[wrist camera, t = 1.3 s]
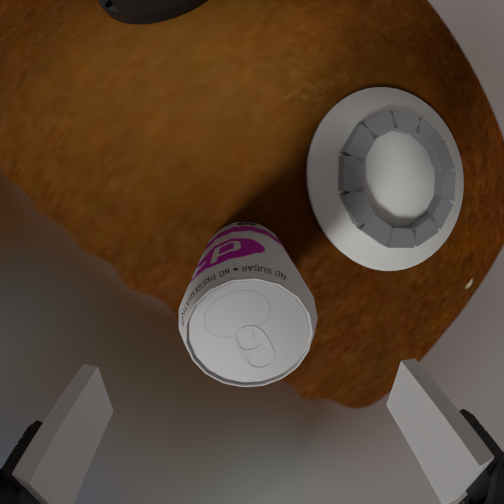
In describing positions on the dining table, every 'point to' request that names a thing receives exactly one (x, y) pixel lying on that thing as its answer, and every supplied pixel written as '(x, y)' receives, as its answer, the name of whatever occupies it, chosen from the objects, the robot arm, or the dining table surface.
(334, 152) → the round tray
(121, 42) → the dining table surface
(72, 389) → the robot arm
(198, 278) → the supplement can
